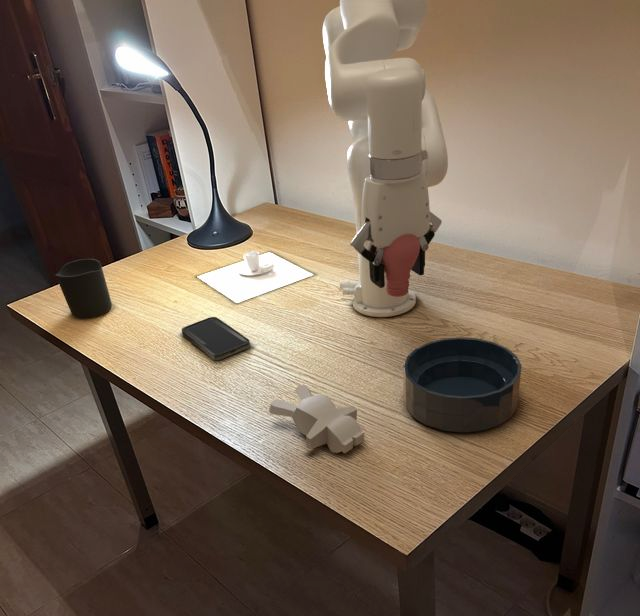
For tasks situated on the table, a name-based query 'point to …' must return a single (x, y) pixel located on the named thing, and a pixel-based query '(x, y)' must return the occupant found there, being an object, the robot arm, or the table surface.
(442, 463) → the table surface
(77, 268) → the dark grey spouted beaker
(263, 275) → the teacup and saucer
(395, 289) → the light bulb
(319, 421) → the bunny figurine
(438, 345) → the dark grey round tub
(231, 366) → the table surface
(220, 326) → the phone
